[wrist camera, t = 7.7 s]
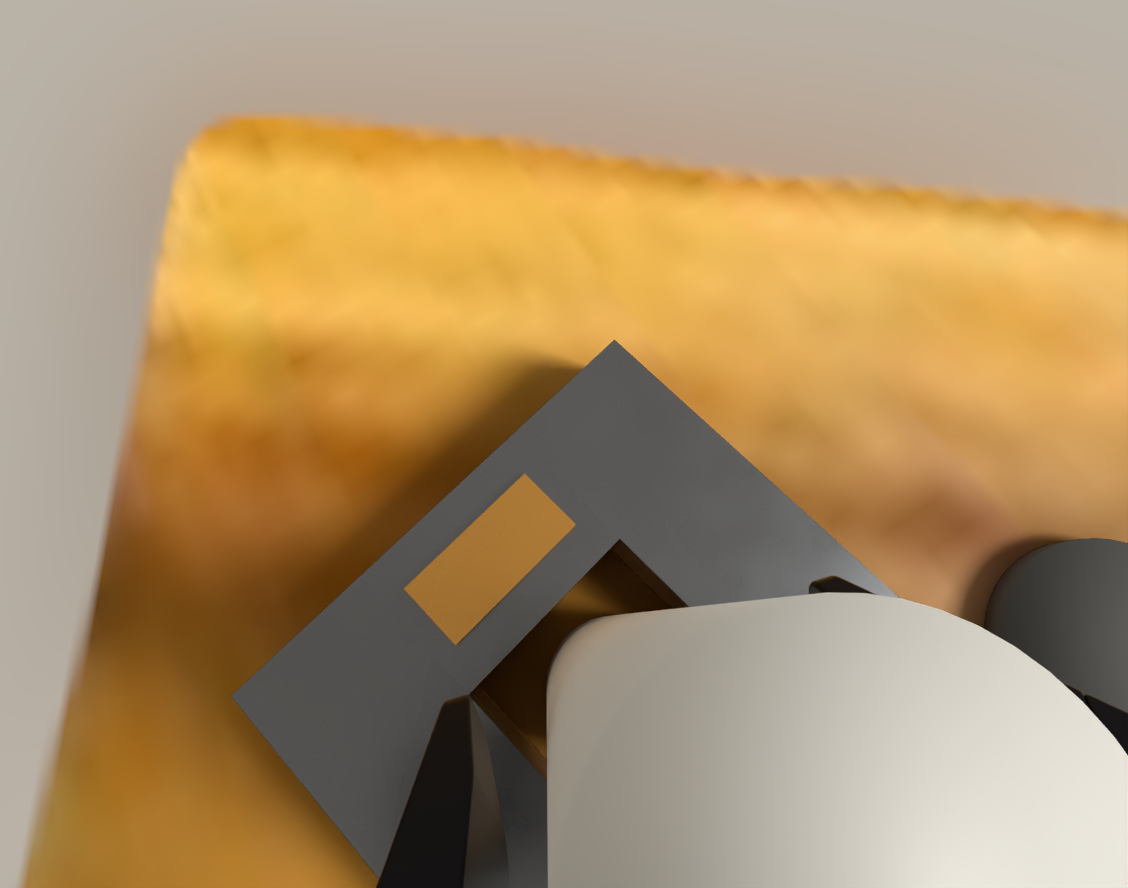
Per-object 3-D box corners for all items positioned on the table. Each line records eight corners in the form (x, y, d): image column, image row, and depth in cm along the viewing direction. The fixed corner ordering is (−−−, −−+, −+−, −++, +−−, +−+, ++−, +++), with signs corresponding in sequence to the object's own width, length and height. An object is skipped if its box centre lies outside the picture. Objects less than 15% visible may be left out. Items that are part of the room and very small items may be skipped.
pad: (1141, 842, 17) (1169, 852, 16) (939, 657, 18) (956, 658, 18) (1256, 656, 19) (1286, 657, 18) (1062, 496, 20) (1083, 492, 19)
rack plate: (623, 1106, 15) (638, 1205, 13) (273, 685, 18) (226, 697, 15) (943, 682, 18) (1008, 693, 16) (606, 372, 21) (615, 336, 18)
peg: (659, 782, 17) (1210, 1563, 3) (526, 731, 18) (440, 1216, 3) (697, 642, 18) (1239, 714, 4) (572, 596, 19) (661, 512, 4)
